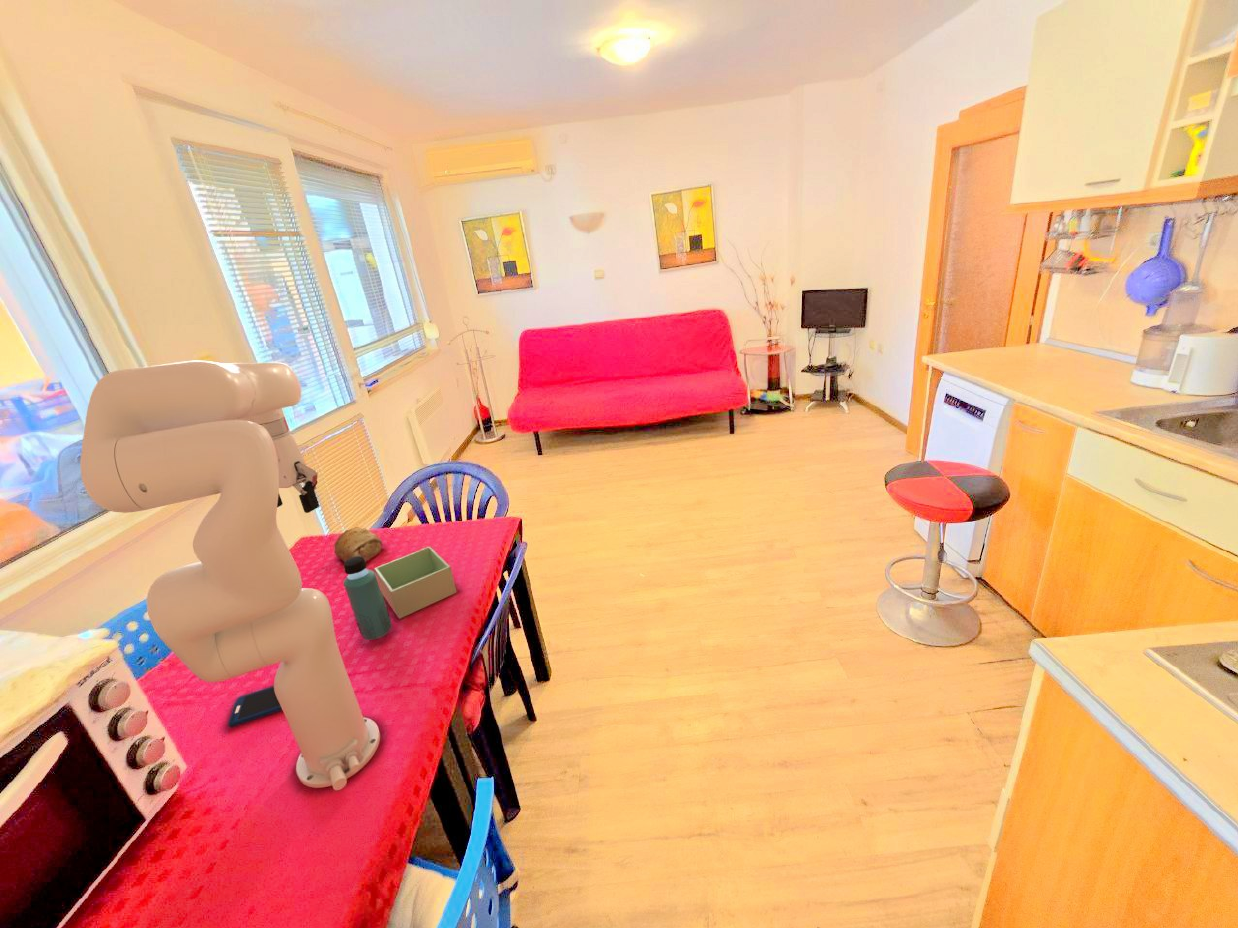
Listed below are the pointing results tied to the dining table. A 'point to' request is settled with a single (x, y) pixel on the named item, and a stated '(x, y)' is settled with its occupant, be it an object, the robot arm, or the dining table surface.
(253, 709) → the cell phone
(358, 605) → the beverage bottle
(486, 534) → the dining table surface
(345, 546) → the pastry
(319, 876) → the dining table surface
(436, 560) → the bin
